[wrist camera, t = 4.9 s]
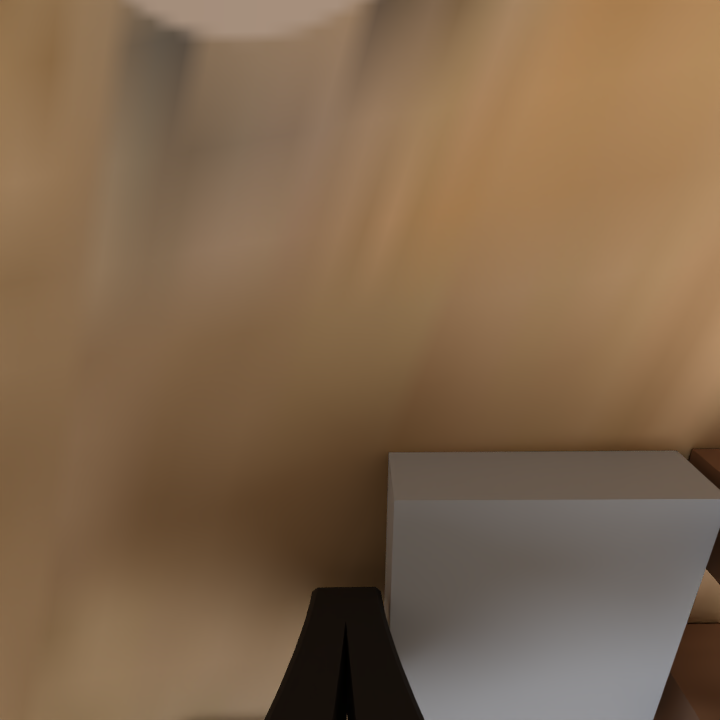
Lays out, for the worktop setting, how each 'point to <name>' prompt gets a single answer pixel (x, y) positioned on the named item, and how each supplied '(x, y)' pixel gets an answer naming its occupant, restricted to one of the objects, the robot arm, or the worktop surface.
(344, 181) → the worktop surface
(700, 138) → the worktop surface
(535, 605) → the grey square tile
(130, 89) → the worktop surface
